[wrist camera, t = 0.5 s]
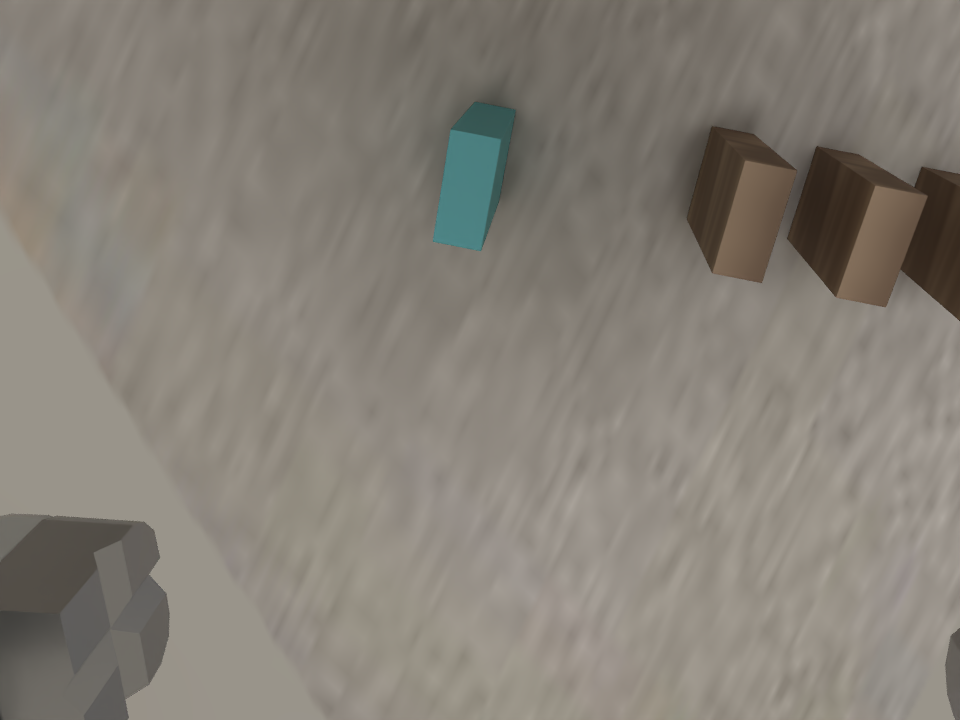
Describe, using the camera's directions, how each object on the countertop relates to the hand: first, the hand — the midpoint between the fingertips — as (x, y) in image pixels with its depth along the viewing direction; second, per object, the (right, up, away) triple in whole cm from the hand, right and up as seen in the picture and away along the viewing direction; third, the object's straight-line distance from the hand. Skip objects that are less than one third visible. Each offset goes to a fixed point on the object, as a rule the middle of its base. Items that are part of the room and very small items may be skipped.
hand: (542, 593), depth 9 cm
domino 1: (0, +14, +39) cm, 42 cm away
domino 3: (+18, +11, +38) cm, 44 cm away
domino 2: (+12, +12, +39) cm, 42 cm away
